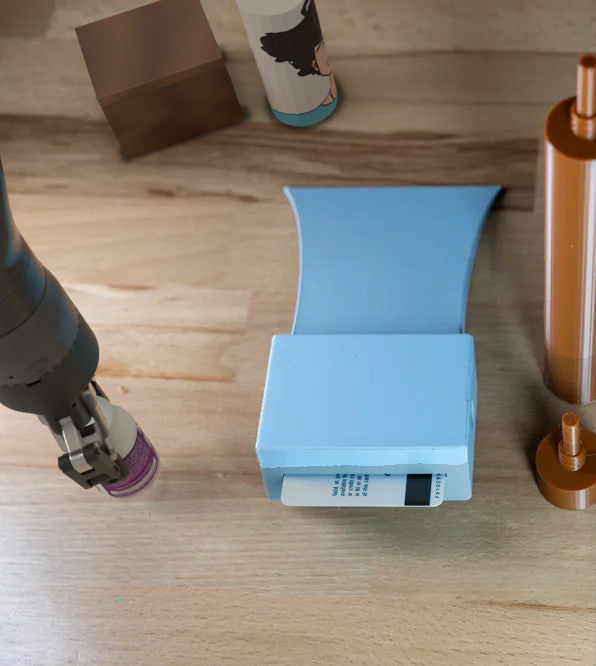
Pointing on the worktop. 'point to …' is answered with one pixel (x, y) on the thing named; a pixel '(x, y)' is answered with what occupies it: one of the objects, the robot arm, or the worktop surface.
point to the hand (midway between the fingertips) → (106, 443)
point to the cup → (291, 58)
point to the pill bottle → (129, 454)
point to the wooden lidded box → (158, 75)
